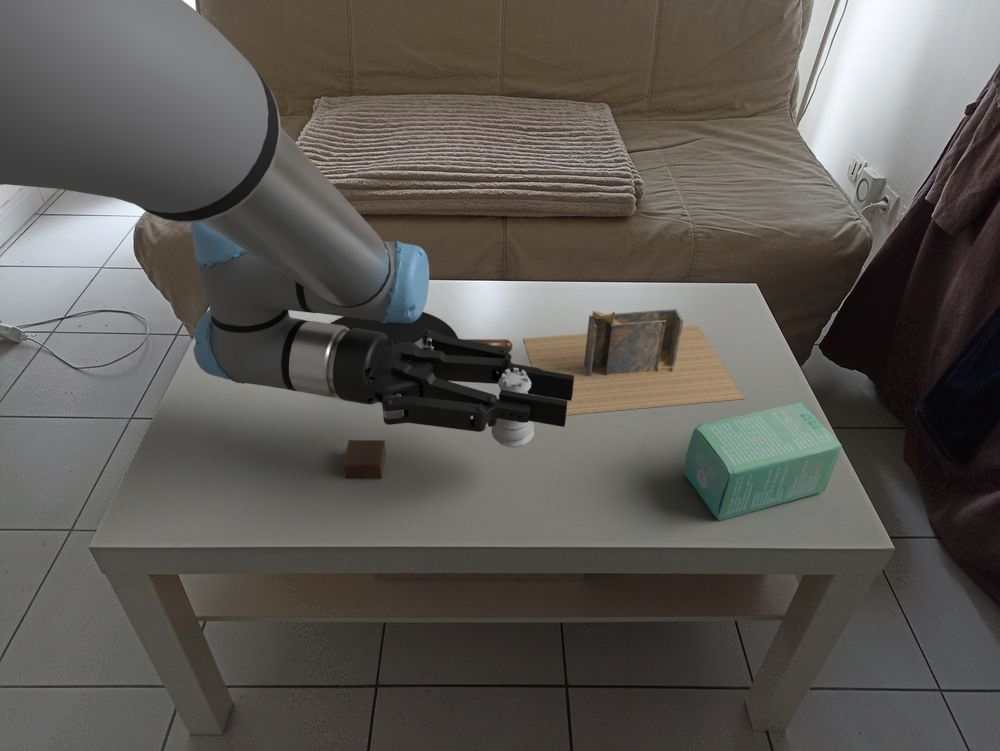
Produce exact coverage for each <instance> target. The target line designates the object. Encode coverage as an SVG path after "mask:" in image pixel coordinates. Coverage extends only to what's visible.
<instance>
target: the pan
mask: <svg viewBox="0 0 1000 751" xmlns="http://www.w3.org/2000/svg"><path fill="white" fill-rule="evenodd" d="M329 324H335V325H343V326H346V327H347V328H349V330H351V329H352V328H358V329H364V330H371V331H377V332H382V333H384V334H385V335H386V336H387V337H388V338H389V339H390V340H391V341H392V342H394V343H404V342H411V343H415V342H417V341H419V340H420V339H422V331H423V330H425V329H431V330H433V331H435V332H437V333H439V334H441V335H444V336H449V337H454V338H459V337H458V335H457V332H456V331H455V330H454V329H453V328H452V326H450V325H449V324H448V323H447V322H445V321H444V320H442V319H441V318H439V317H437V316H435V315H433V314H431V313H428V312H426V311H423V312H422V314H421V316H420V317H419V318H418V319H417V320H416V321H414V322H412V323H395V322H387V323H381V321H374V320H367V319H359V318H351V317H344V316H340V317H339V318H337V319H335V320H333V321H331V322H330V323H329ZM464 340H468V341H473V342H478V343H483V344H488V345H493V346H498V347H503V348H507V349H508V350H509V353H510V352H511V351H512V350H513V342H512V341H511V340H509V339H507V338H506V339H501V338H499V339H498V338H497V339H493V338H492V339H489V338H488V339H485V338H484V339H482V338H480V339H477V338H473V339H472V338H471V339H468V338H464ZM435 373H436V364H435ZM376 403H380V402H379V401H377V402H376Z"/></svg>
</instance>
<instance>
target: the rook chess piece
mask: <svg viewBox="0 0 1000 751" xmlns="http://www.w3.org/2000/svg"><path fill="white" fill-rule="evenodd" d="M518 371H519V368H514V371H513V372H510V369H507V370H505V374H502V377H501V378H500V379H499V382H498V384H497V386H498V387H499V390H500V391H501V390H507V391H513V392H519V393H525V394H528V392H527V391H528V390H529V389H530V388H531V381H530V379H529V378H528V376H526V372H525V371H524V370H522V371H521V372H518ZM534 426H535V422H532V421H528V422H525V423H521V422H517V421H510V420H504V419H498V418H497V423H496V425H495V426H493V427H491V435H492V437H493V439H494V440H495V441H496V442H497V443H499V444H500V445H502V446H504V447H506V448H514V449H515V448H519V447H523V446H524V445H526V444H527V443H529V442H531V440H532V438H533V437H534V436H535V429H534V428H535V427H534Z"/></svg>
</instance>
